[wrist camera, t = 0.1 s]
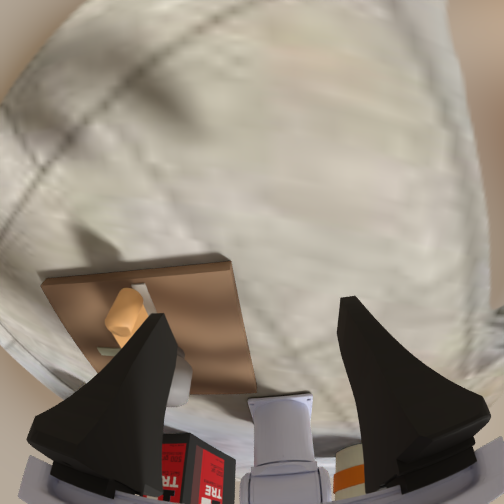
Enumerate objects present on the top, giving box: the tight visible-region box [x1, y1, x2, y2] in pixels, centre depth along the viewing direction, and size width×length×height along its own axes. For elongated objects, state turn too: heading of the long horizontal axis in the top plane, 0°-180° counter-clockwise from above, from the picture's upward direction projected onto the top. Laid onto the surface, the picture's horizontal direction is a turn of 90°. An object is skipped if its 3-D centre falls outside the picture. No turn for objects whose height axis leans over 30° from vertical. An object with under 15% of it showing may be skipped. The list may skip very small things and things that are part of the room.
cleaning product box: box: [140, 433, 236, 504], centre depth 36 cm, size 16×9×20 cm, turn 24°
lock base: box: [41, 261, 257, 394], centre depth 26 cm, size 17×19×3 cm
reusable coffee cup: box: [333, 444, 366, 501], centre depth 40 cm, size 13×13×15 cm
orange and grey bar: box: [105, 288, 193, 407], centre depth 21 cm, size 12×5×3 cm, turn 7°
